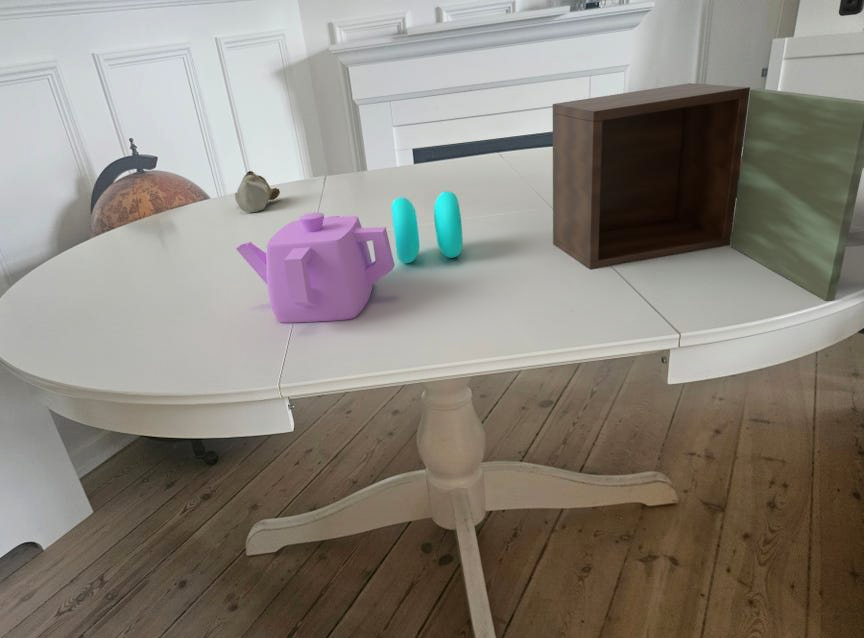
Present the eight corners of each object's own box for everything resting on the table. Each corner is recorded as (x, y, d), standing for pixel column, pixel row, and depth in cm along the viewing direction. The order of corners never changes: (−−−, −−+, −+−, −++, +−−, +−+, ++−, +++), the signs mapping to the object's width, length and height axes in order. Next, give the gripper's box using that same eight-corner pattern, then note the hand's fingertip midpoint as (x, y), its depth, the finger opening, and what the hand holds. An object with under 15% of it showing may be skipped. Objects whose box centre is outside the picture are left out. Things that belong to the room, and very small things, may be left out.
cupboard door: (784, 240, 86) (810, 81, 77) (894, 292, 68) (945, 93, 59) (730, 246, 87) (750, 89, 78) (825, 301, 68) (866, 103, 59)
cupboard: (730, 245, 87) (750, 87, 78) (589, 270, 86) (593, 111, 77) (677, 223, 99) (689, 83, 90) (552, 244, 97) (552, 103, 88)
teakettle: (305, 339, 77) (285, 241, 71) (245, 307, 90) (225, 221, 84) (412, 296, 85) (402, 206, 80) (344, 272, 98) (331, 192, 92)
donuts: (397, 253, 103) (389, 192, 99) (457, 245, 103) (453, 184, 98) (398, 273, 94) (391, 207, 90) (465, 265, 94) (460, 198, 89)
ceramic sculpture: (220, 178, 138) (233, 170, 152) (229, 217, 142) (240, 206, 155) (268, 171, 138) (277, 164, 152) (276, 211, 142) (283, 200, 155)
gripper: (921, -187, 61) (880, 14, 69) (935, -171, 70) (897, 7, 77) (829, -164, 66) (800, 22, 74) (852, -151, 74) (824, 15, 82)
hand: (850, 14), depth 76 cm, fingers closed
